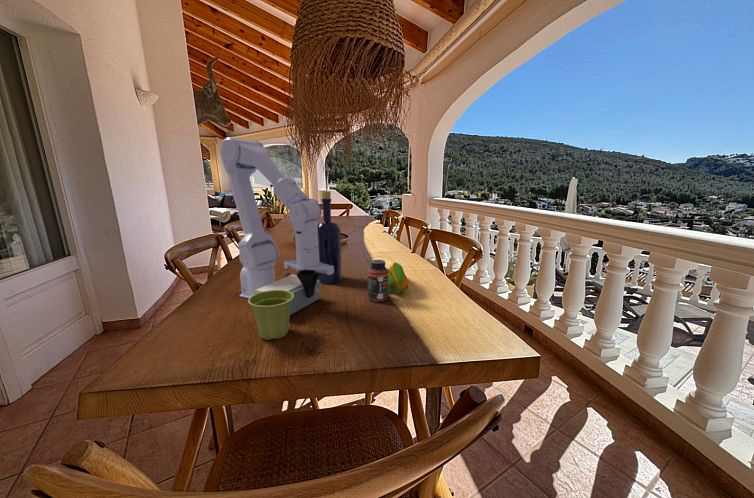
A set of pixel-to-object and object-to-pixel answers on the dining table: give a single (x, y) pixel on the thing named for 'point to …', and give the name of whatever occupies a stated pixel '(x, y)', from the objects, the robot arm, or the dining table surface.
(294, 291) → the door
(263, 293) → the plant pot
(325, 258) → the bottle
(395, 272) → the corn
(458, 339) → the dining table surface
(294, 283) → the cabinet
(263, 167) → the robot arm
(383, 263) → the supplement bottle
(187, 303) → the dining table surface
